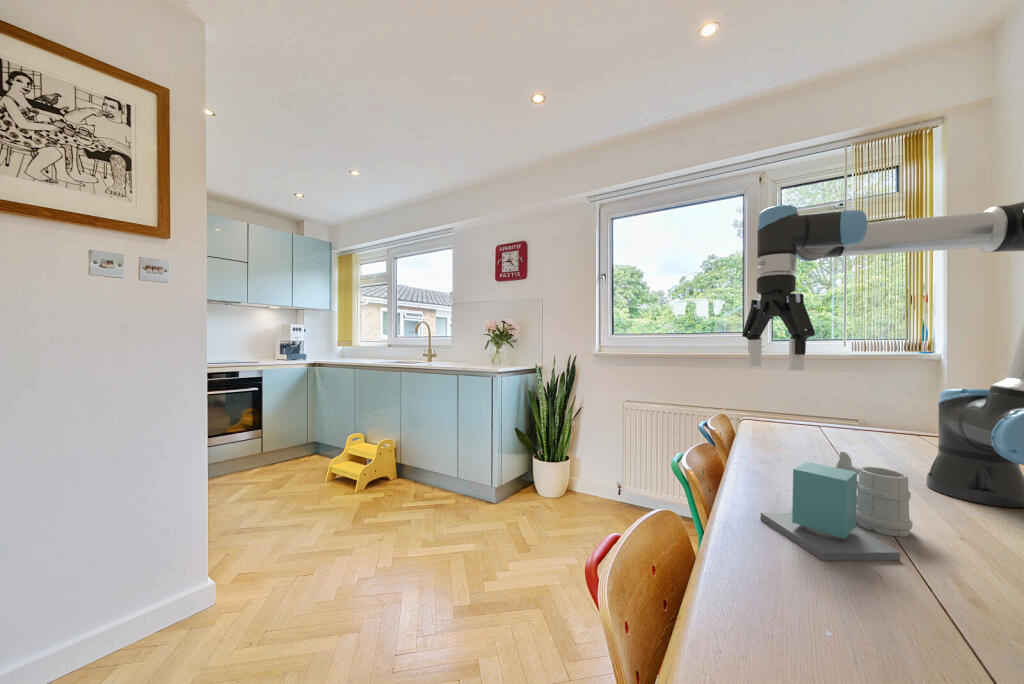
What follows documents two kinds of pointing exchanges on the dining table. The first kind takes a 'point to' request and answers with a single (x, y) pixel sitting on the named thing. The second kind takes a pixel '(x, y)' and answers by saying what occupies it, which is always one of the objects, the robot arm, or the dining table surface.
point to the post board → (831, 541)
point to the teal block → (825, 498)
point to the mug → (881, 498)
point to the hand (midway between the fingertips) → (774, 368)
